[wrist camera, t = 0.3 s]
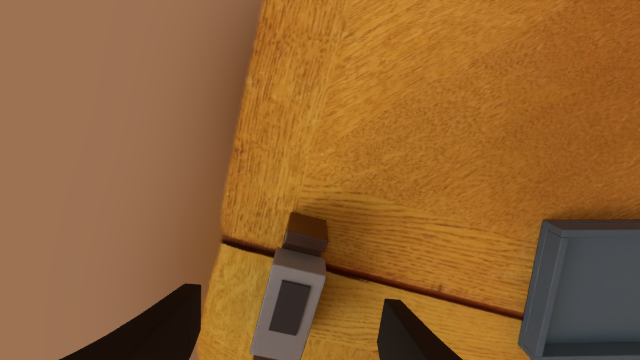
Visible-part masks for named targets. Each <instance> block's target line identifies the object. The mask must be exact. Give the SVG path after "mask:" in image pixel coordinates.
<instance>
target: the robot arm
mask: <svg viewBox="0 0 640 360" xmlns="http://www.w3.org/2000/svg"><path fill="white" fill-rule="evenodd" d="M200 330H201V285H198V284H184V285H182V286H181V287H179V288H178V289H177V290H175V291H173V292H172V293H170V294H169V295H168V296H166V297H165V298H163V299H162V300H160V301H159V302H158V303H156V304H155V305H153V306H152V307H151V308H149V309H147V310H146V311H144V312H143V313H141V314H140V315H138V316H137V317H135V318H134V319H132V320H130V321H129V322H127V323H125V324H124V325H122V326H121V327H119V328H117V329H116V330H114V331H113V332H111V333H109V334H108V335H106V336H104V337H102V338H100V339H99V340H97V341H95V342H93V343H91V344H89V345H88V346H86V347H84V348H82V349H80V350H78V351H76V352H74V353H72V354H70V355H68V356H66V357H64V358H62V359H59V360H189V358H190V356H191V354H192V351H193V349H194V346H195V344H196V341H197V338H198V336H199V333H200ZM377 345H378V351H379V357H380V360H462V359H461V358H460V357H459V356H458V355H457V354H456V353H454V352H453V351H452V350H451V349H450V348H449V347H448V346H446V345H445V344H444V343H443V342H442V341H441V340H440V339H439V338H438V337H437V336H436V335H435V334H434V333H433V332H432V331H431V330H430V329H429V328H428V327H427V326H426V325H425V324H424V323H423V322H422V321H421V320H420V319H419V318H418V317H417V316H416V315H415V314H414V313H413V312H412V311H411V310H410V309H409V308H408V307H407V306H406V305H405V304H404V303H403V302H402V301H401V300H396V299H385V300H384V306H383V311H382V317H381V323H380V328H379V334H378V339H377Z"/></svg>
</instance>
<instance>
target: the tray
mask: <svg viewBox="0 0 640 360" xmlns="http://www.w3.org/2000/svg"><path fill="white" fill-rule="evenodd" d="M518 345H519V346H520V347H521V348H522V349H523V350H524V352H525V353H526V354H527V355H528V356H529V357H530V358H531V360H640V220H543V223H542V228H541V233H540V238H539V243H538V247H537V252H536V257H535V262H534V267H533V272H532V277H531V282H530V287H529V292H528V297H527V302H526V307H525V312H524V317H523V322H522V327H521V332H520V337H519V342H518Z"/></svg>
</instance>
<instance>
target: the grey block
mask: <svg viewBox="0 0 640 360" xmlns="http://www.w3.org/2000/svg"><path fill="white" fill-rule="evenodd" d="M326 277H327V276H326V264H325V258H321V257H317V256H313V255H308V254H304V253H300V252H296V251H291V250H287V249H283V248H279V247H277V249H276V252H275V256H274V260H273V264H272V268H271V272H270V275H269V279H268V283H267V287H266V291H265V295H264V298H263V302H262V306H261V310H260V314H259V318H258V321H257V325H256V329H255V333H254V337H253V341H252V345H251V349H250V354H252V355H257V356H262V357H267V358H272V359H277V360H301V357H302V354H303V351H304V348H305V344H306V341H307V338H308V335H309V332H310V328H311V325H312V322H313V319H314V316H315V312H316V309H317V306H318V303H319V300H320V296H321V293H322V290H323V287H324V284H325V280H326Z"/></svg>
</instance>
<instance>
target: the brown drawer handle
mask: <svg viewBox="0 0 640 360" xmlns="http://www.w3.org/2000/svg"><path fill="white" fill-rule="evenodd" d="M327 244H328V234H327V226H326V221H325V220H321V219H317V218H313V217H309V216H305V215H301V214H297V213H293V212H291V213H290V216H289V220H288V224H287V228H286V231H285V235H284V239H283V243H282V247H281V248H283V249H287V250H291V251H296V252H300V253H304V254H308V255H313V256H317V257H321V253H322V252H325V250H326V247H327ZM253 360H277V359H272V358H267V357H262V356H257V355H254V356H253Z"/></svg>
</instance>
